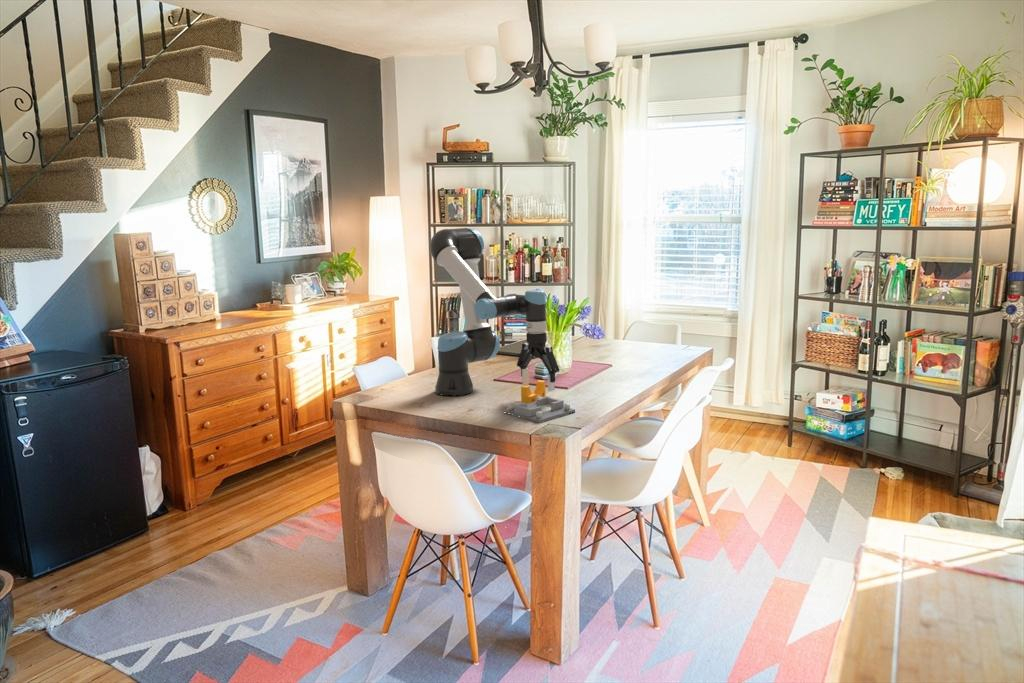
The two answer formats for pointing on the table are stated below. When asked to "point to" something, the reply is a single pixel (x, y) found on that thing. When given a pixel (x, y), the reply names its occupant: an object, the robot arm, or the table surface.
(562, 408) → the chassis
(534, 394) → the orange bracket
